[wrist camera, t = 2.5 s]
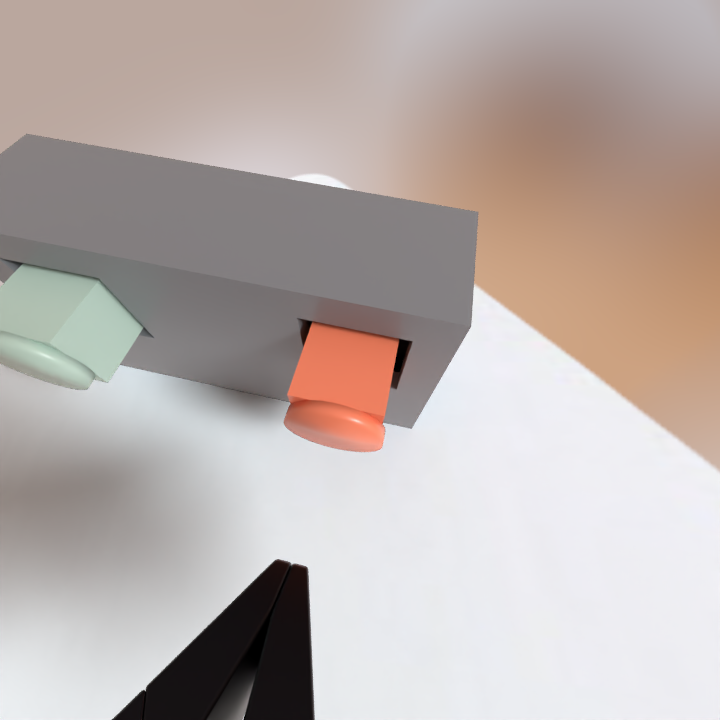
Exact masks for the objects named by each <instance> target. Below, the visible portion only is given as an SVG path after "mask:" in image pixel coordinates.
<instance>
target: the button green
mask: <svg viewBox="0 0 720 720" xmlns="http://www.w3.org/2000/svg"><path fill="white" fill-rule="evenodd" d="M143 328H144V326H143V325H142V324H141V323H140V322H139V321H138V320H137V319H136V318H135V317H134V315H133V314H132V313H131V312H130V311H129V310H128V309H127V308H126V307H125V306H124V305H123V304H122V303H121V301H120V300H119V299H118V298H117V297H116V296H115V295H114V294H113V293H112V292H111V291H110V290H109V289H108V287H107V286H106V285H105V284H104V283H103V282H102V281H101V280H100V279H99V278H96V277H91V276H86V275H81V274H76V273H71V272H66V271H61V270H56V269H51V268H46V267H41V266H36V265H31V264H26V263H23V264H22V265H21V266H20V267H19V268H18V269H17V270H16V271H15V272H14V273H13V274H12V275H11V277H10V278H9V279H8V280H7V281H6V282H5V283H4V284H3V285H2V286H1V287H0V364H3V365H5V366H7V367H9V368H12V369H14V370H16V371H19V372H21V373H24V374H26V375H29V376H32V377H34V378H37V379H40V380H43V381H46V382H49V383H52V384H56V385H59V386H63V387H67V388H71V389H77V390H87V389H88V388H89V386H90V385H91V383H92V382H93V380H98V381H102V382H107V383H108V382H109V381H110V379H111V377H112V376H113V374H114V373H115V371H116V370H117V368H118V367H119V365H120V363H121V362H122V360H123V359H124V357H125V356H126V354H127V353H128V351H129V349H130V348H131V346H132V345H133V343H134V342H135V340H136V338H137V337H138V335H139V334H140V332H141V331H142V329H143Z"/></svg>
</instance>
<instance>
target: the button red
mask: <svg viewBox="0 0 720 720" xmlns="http://www.w3.org/2000/svg"><path fill="white" fill-rule="evenodd" d="M398 343H399V338H394V337H389V336H384V335H379V334H374V333H369V332H364V331H359V330H354V329H349V328H344V327H339V326H334V325H329V324H324V323H319V322H314V321H313V322H312V324H311V327H310V330H309V333H308V336H307V339H306V342H305V345H304V347H303V350H302V353H301V356H300V359H299V362H298V365H297V368H296V370H295V373H294V376H293V379H292V382H291V385H290V388H289V391H288V393H287V396H288V398H289V401H290V405H289V407H288V410H287V413H286V416H285V419H284V425H285V426H286V428H287V429H289V430H290V431H291V432H293V433H294V434H296V435H298V436H300V437H302V438H304V439H307V440H309V441H312V442H315V443H317V444H321V445H324V446H328V447H332V448H336V449H341V450H347V451H355V452H372V451H377V450H380V449H381V448H382V446H383V441H384V435H385V427H384V426H383V425H382V424H383V420H384V417H385V413H386V407H387V402H388V397H389V391H390V386H391V381H392V375H393V370H394V365H395V359H396V354H397V349H398Z"/></svg>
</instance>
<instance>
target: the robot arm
mask: <svg viewBox="0 0 720 720" xmlns="http://www.w3.org/2000/svg"><path fill="white" fill-rule="evenodd" d="M245 712H246V713H245ZM244 714H245V716H244ZM243 717H244V720H315V716H314V693H313V669H312V646H311V623H310V599H309V576H308V568H307V567H306V566H303V565H299V564H293V565H291V563H290V562H288V561H284V560H280V559H277V560H275V561H274V562H273V563H272V564H271V565H269V566H268V567H267V568H266V569H265V570H264V571H263V572H262V573H261V574H260V575H259V576H258V577H257V578H256V579H255V580H254V581H253V582H252V583H251V584H250V585H249V586H248V587H247V588H246V589H245V590H244V591H243V592H242V593H241V594H240V595H239V596H238V597H237V598H236V599H235V600H234V601H233V602H232V603H231V604H230V605H229V606H228V607H227V608H226V609H225V610H224V611H223V612H222V613H221V614H220V615H219V616H218V617H217V618H216V619H215V620H213V621H212V622H211V623H210V624H209V625H208V626H207V627H206V628H205V629H204V630H203V631H202V632H201V633H200V634H199V635H198V636H197V637H196V638H195V639H194V640H193V641H192V642H191V643H190V644H189V645H188V646H187V647H186V648H185V649H184V650H183V651H182V652H181V653H180V654H179V655H178V656H177V657H176V658H175V659H174V660H173V661H172V662H171V663H170V664H169V665H168V666H167V667H166V668H165V669H164V670H163V671H162V672H161V673H160V674H159V675H157V676H156V677H155V678H154V679H153V680H152V681H151V682H150V683H149V684H148V685H147V687H146V692H145V690H142V691H141V692H140V693H139V694H138V695H137V696H136V697H135V698H134V699H133V700H132V701H131V702H130V703H129V704H128V705H127V706H126V707H125V708H124V709H123V710H122V711H121V712H120V713H118V714H117V715H116V716H115V717H114V718H113V719H112V720H242V719H243Z"/></svg>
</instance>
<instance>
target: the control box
mask: <svg viewBox="0 0 720 720" xmlns="http://www.w3.org/2000/svg"><path fill="white" fill-rule="evenodd" d="M477 226H478V212H475V211H470V210H464V209H458V208H452V207H446V206H441V205H435V204H429V203H423V202H417V201H411V200H406V199H400V198H394V197H388V196H382V195H377V194H371V193H365V192H360V191H354V190H348V189H342V188H337V187H331V186H325V185H319V184H313V183H308V182H302V181H296V180H290V179H285V178H279V177H273V176H267V175H261V174H256V173H250V172H244V171H238V170H232V169H227V168H220V167H215V166H209V165H203V164H198V163H192V162H186V161H180V160H175V159H169V158H163V157H157V156H152V155H145V154H140V153H134V152H128V151H123V150H117V149H111V148H105V147H99V146H94V145H87V144H82V143H76V142H71V141H65V140H59V139H53V138H47V137H42V136H36V135H30V134H26V135H24V136H23V137H22V138H21V139H19V140H18V141H17V142H15V143H14V144H13V145H12V146H10V147H9V148H8V149H7V150H5V151H4V152H2V153H1V154H0V280H1V281H2V282H3V283H5V282H6V281H7V280H8V279H9V278H10V277H11V275H12V274H13V273H14V272H15V271H16V270H17V269H18V268H19V267H20V266H21V265H22V264H23V263H26V264H31V265H36V266H41V267H46V268H51V269H56V270H61V271H66V272H71V273H76V274H81V275H86V276H91V277H96V278H99V279H100V280H101V281H102V282H103V283H104V284H105V285H106V286H107V287H108V289H109V290H110V291H111V292H112V293H113V294H114V295H115V296H116V297H117V298H118V299H119V300H120V301H121V303H122V304H123V305H124V306H125V307H126V308H127V309H128V310H129V311H130V312H131V313H132V314H133V315H134V317H135V318H136V319H137V320H138V321H139V322H140V323H141V324H142V325H143V326H144V328H143V329H142V331H141V332H140V334H139V335H138V337H137V338H136V340H135V342H134V343H133V345H132V346H131V348H130V349H129V351H128V353H127V354H126V356H125V357H124V359H123V360H122V362H121V363H120V365H124V366H128V367H133V368H137V369H142V370H147V371H151V372H156V373H160V374H165V375H169V376H174V377H178V378H183V379H188V380H192V381H197V382H201V383H206V384H210V385H215V386H220V387H224V388H229V389H233V390H238V391H242V392H247V393H251V394H256V395H261V396H265V397H270V398H274V399H279V400H283V401H288V402H290V401H289V398H288V396H287V393H288V391H289V388H290V385H291V382H292V379H293V376H294V373H295V370H296V368H297V365H298V362H299V359H300V356H301V353H302V350H303V347H304V345H305V342H306V339H307V336H308V333H309V330H310V327H311V324H312V322H313V321H314V322H319V323H324V324H329V325H334V326H339V327H344V328H349V329H354V330H359V331H364V332H369V333H374V334H379V335H384V336H389V337H394V338H399V343H398V349H397V354H396V357H401V358H404V360H403V363H402V367H401V370H400V372H395V371H393V375H392V381H391V386H390V391H389V397H388V402H387V407H386V413H385V417H384V420H383V422H384V423H388V424H393V425H397V426H402V427H407V428H411V429H412V427H413V425H414V424H415V422H416V420H417V418H418V417H419V415H420V413H421V412H422V410H423V408H424V406H425V405H426V403H427V401H428V400H429V398H430V396H431V394H432V393H433V391H434V389H435V387H436V386H437V384H438V382H439V381H440V379H441V377H442V375H443V374H444V372H445V370H446V369H447V367H448V365H449V363H450V362H451V360H452V358H453V357H454V355H455V353H456V351H457V350H458V348H459V346H460V344H461V343H462V341H463V339H464V338H465V336H466V334H467V332H468V331H469V329H470V327H471V320H472V304H473V288H474V273H475V256H476V241H477Z"/></svg>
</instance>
